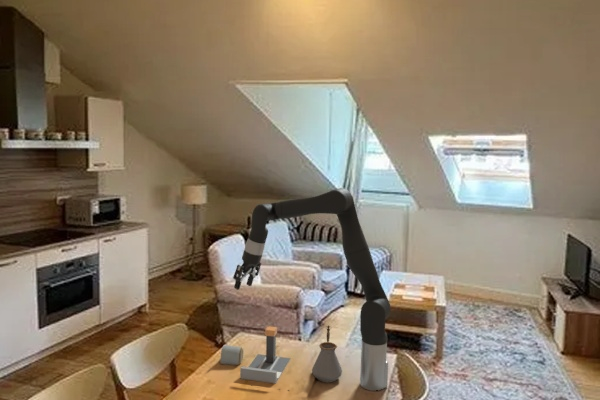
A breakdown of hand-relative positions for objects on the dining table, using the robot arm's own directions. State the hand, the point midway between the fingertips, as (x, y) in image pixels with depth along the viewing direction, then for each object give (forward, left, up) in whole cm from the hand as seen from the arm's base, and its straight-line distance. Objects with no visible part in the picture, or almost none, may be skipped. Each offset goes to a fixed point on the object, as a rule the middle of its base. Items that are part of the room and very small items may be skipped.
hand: (242, 287), depth 203 cm
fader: (-10, +10, -28) cm, 32 cm away
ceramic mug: (+5, +5, -30) cm, 31 cm away
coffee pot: (-30, +22, -30) cm, 47 cm away
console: (-7, +16, -29) cm, 34 cm away
